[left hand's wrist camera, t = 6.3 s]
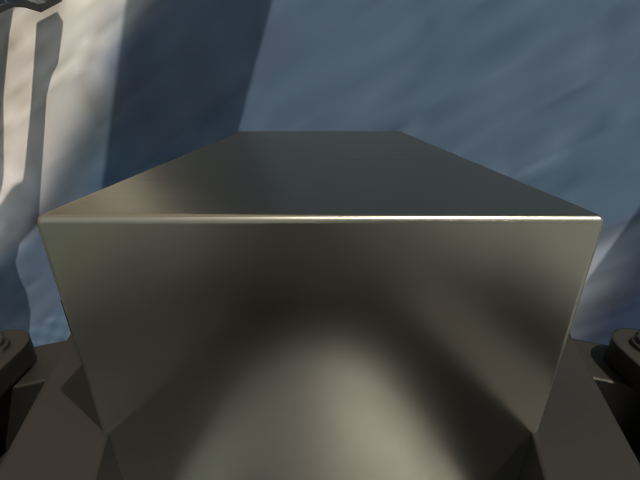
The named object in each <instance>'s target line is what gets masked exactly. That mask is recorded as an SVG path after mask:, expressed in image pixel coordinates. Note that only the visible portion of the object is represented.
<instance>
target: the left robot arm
mask: <svg viewBox="0 0 640 480" xmlns="http://www.w3.org/2000/svg"><path fill="white" fill-rule="evenodd" d="M61 303H62V301H61ZM62 306H63V304H62ZM63 309H64V307H63ZM64 312H65V310H64ZM65 315H66V313H65ZM66 319H67V316H66ZM67 322H68V319H67ZM68 325H69V323H68ZM69 328H70V326H69ZM70 331H71V329H70ZM0 480H123V478H122V475H121V471H120V468H119V465H118V462H117V459H116V455H115V452H114V449H113V446H112V442H111V439H110V436H109V433H105V432H103V430H102V427H101V424H100V420H99V417H98V414H97V411H96V408H95V405H94V401H93V398H92V395H91V392H90V389H89V386H88V383H87V379H86V376H85V373H84V370H83V367H82V364H81V360H80V357H79V354H78V351H77V348H76V345H75V342H74V338H73V335H72V332H71V334H70V336H69V338H68V340H67V341H62V342H57V343H52V344H46V345H41V346H36V347H34V346H33V344H32V341H31V338H30V336H29V334H28V333H26V332H25V331H22V330H7V331H0ZM517 480H640V330H638V329H631V328H624V329H617V330H615V331H614V332H612V334H611V337H610V339H609V342H608V345H603V344H597V343H592V342H586V341H581V340H576V339H572V337H571V336H570V334H568V337H567V340H566V343H565V346H564V350H563V353H562V356H561V359H560V362H559V365H558V368H557V372H556V375H555V378H554V381H553V384H552V387H551V390H550V394H549V397H548V400H547V403H546V406H545V409H544V412H543V416H542V419H541V422H540V425H539V428H538V431H536V432H534V433H531V436H530V439H529V443H528V446H527V449H526V452H525V456H524V459H523V462H522V465H521V468H520V472H519V475H518V478H517Z"/></svg>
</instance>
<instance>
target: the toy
mask: <svg viewBox="0 0 640 480" xmlns="http://www.w3.org/2000/svg"><path fill="white" fill-rule="evenodd" d="M61 1H62V0H0V13H1V12H3V11H5V10H7V9H10V8H12V7H25V8H28V9H32V10H35V11H39V12H42V11H44V10H46V9H48V8H50V7H52V6H54V5H56V4H57V3H59V2H61Z"/></svg>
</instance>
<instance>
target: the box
mask: <svg viewBox="0 0 640 480" xmlns="http://www.w3.org/2000/svg"><path fill="white" fill-rule="evenodd" d="M603 224H604V221H603V218H602V216H600V215H598V214H596V213H593V212H591V211H589V210H586V209H584V208H581V207H579V206H577V205H574V204H572V203H569V202H567V201H565V200H562V199H560V198H558V197H555V196H553V195H550V194H548V193H546V192H543V191H541V190H538V189H536V188H534V187H531V186H529V185H527V184H524V183H522V182H519V181H517V180H515V179H512V178H510V177H507V176H505V175H503V174H500V173H498V172H496V171H493V170H491V169H488V168H486V167H484V166H481V165H479V164H476V163H474V162H472V161H469V160H467V159H465V158H462V157H460V156H457V155H455V154H453V153H450V152H448V151H445V150H443V149H441V148H438V147H436V146H434V145H431V144H429V143H426V142H424V141H422V140H419V139H417V138H414V137H412V136H410V135H407V134H405V133H403V132H400V131H240V132H238V133H235V134H233V135H231V136H228V137H226V138H223V139H221V140H219V141H216V142H214V143H211V144H209V145H207V146H204V147H202V148H200V149H197V150H195V151H192V152H190V153H188V154H185V155H183V156H180V157H178V158H176V159H173V160H171V161H169V162H166V163H164V164H161V165H159V166H157V167H154V168H152V169H150V170H147V171H145V172H142V173H140V174H138V175H135V176H133V177H130V178H128V179H126V180H123V181H121V182H119V183H116V184H114V185H111V186H109V187H107V188H104V189H102V190H99V191H97V192H95V193H92V194H90V195H88V196H85V197H83V198H80V199H78V200H76V201H73V202H71V203H68V204H66V205H64V206H61V207H59V208H57V209H54V210H52V211H49V212H47V213H45V214H42V215H40V216H39V217H38V218H37V225H38V228H39V231H40V234H41V238H42V241H43V244H44V247H45V250H46V253H47V256H48V260H49V263H50V266H51V269H52V272H53V275H54V279H55V282H56V285H57V288H58V291H59V294H60V297H61V301H62V304H63V307H64V310H65V313H66V316H67V319H68V323H69V326H70V329H71V332H72V335H73V338H74V342H75V345H76V348H77V351H78V354H79V357H80V360H81V364H82V367H83V370H84V373H85V376H86V379H87V383H88V386H89V389H90V392H91V395H92V398H93V401H94V405H95V408H96V411H97V414H98V417H99V420H100V424H101V427H102V430H103V432H105V433H109V436H110V439H111V442H112V446H113V449H114V452H115V455H116V459H117V462H118V465H119V468H120V471H121V475H122V478H123V480H517V478H518V475H519V472H520V468H521V465H522V462H523V459H524V456H525V452H526V449H527V446H528V443H529V439H530V436H531V433H534V432H536V431H538V428H539V425H540V422H541V419H542V416H543V412H544V409H545V406H546V403H547V400H548V397H549V394H550V390H551V387H552V384H553V381H554V378H555V375H556V372H557V368H558V365H559V362H560V359H561V356H562V353H563V350H564V346H565V343H566V340H567V337H568V334H569V331H570V328H571V324H572V321H573V318H574V315H575V312H576V309H577V306H578V303H579V299H580V296H581V293H582V290H583V287H584V284H585V281H586V277H587V274H588V271H589V268H590V265H591V262H592V259H593V255H594V252H595V249H596V246H597V243H598V240H599V237H600V233H601V230H602V227H603Z"/></svg>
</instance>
